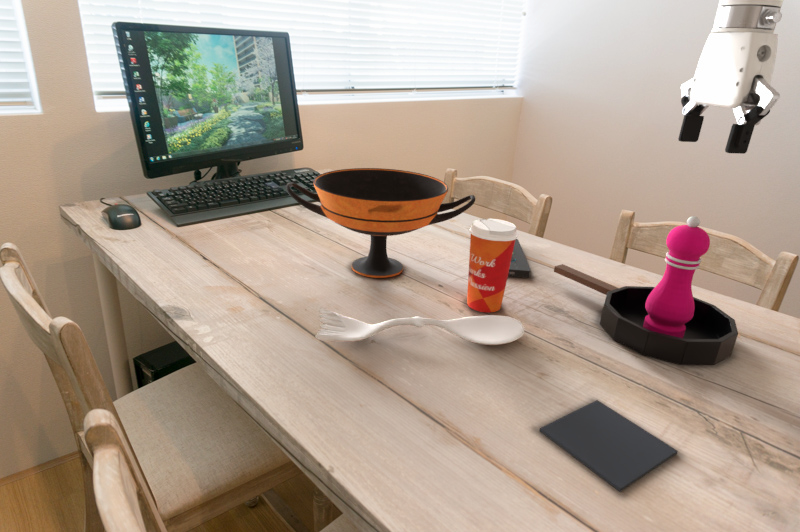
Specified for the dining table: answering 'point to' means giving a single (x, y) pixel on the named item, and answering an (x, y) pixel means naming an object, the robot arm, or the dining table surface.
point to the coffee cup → (489, 263)
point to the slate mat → (608, 444)
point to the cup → (380, 208)
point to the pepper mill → (677, 280)
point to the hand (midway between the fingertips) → (710, 146)
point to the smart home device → (519, 263)
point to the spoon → (468, 328)
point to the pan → (624, 320)
